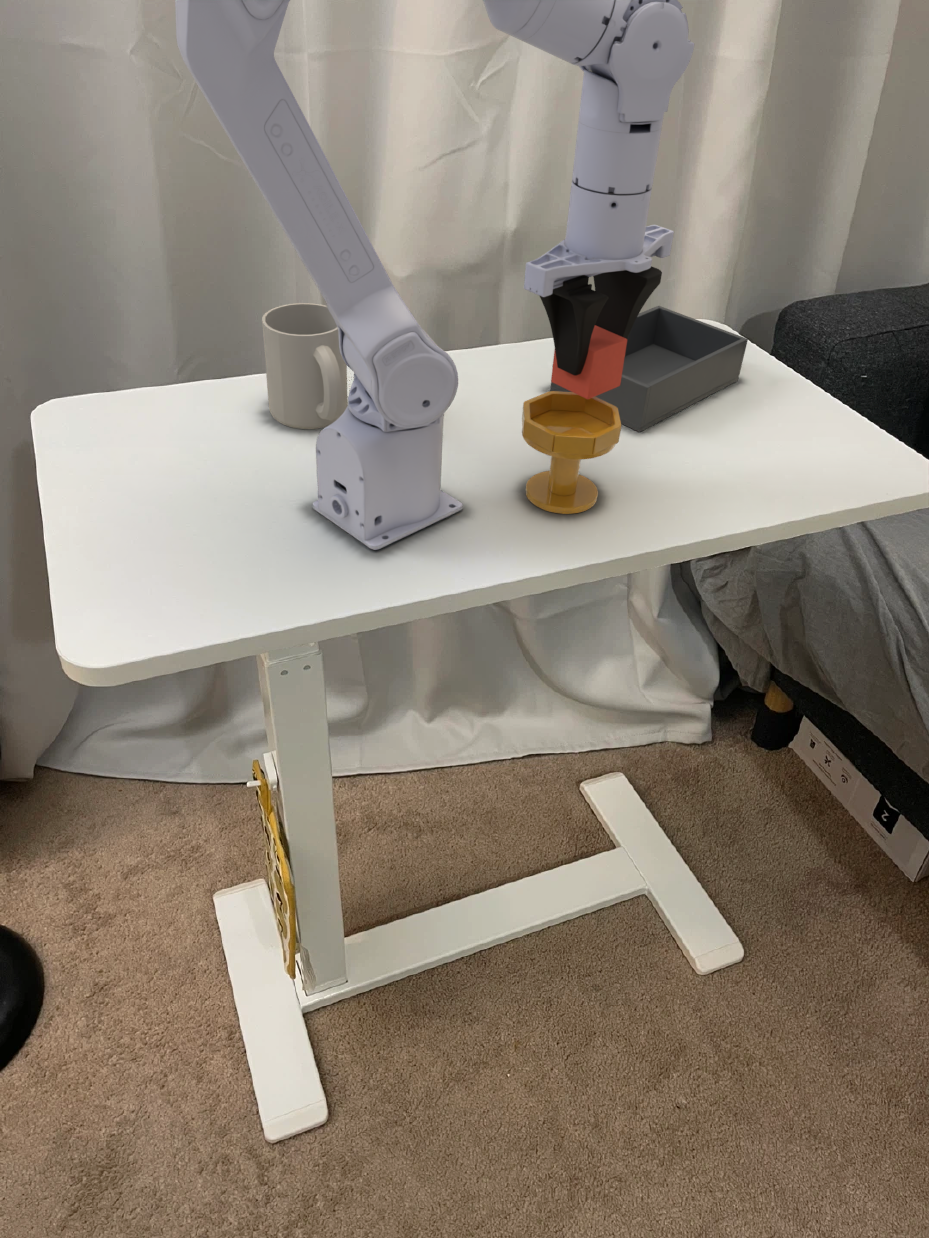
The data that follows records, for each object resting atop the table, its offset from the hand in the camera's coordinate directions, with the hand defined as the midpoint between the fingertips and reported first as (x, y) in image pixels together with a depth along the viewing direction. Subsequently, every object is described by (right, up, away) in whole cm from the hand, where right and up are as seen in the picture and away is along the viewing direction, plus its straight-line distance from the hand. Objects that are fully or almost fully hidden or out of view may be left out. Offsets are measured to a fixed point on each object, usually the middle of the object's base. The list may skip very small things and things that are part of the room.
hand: (587, 363), depth 79 cm
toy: (0, -1, +1) cm, 2 cm away
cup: (-24, -2, +12) cm, 27 cm away
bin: (+8, +3, +21) cm, 23 cm away
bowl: (-2, -10, +4) cm, 11 cm away
